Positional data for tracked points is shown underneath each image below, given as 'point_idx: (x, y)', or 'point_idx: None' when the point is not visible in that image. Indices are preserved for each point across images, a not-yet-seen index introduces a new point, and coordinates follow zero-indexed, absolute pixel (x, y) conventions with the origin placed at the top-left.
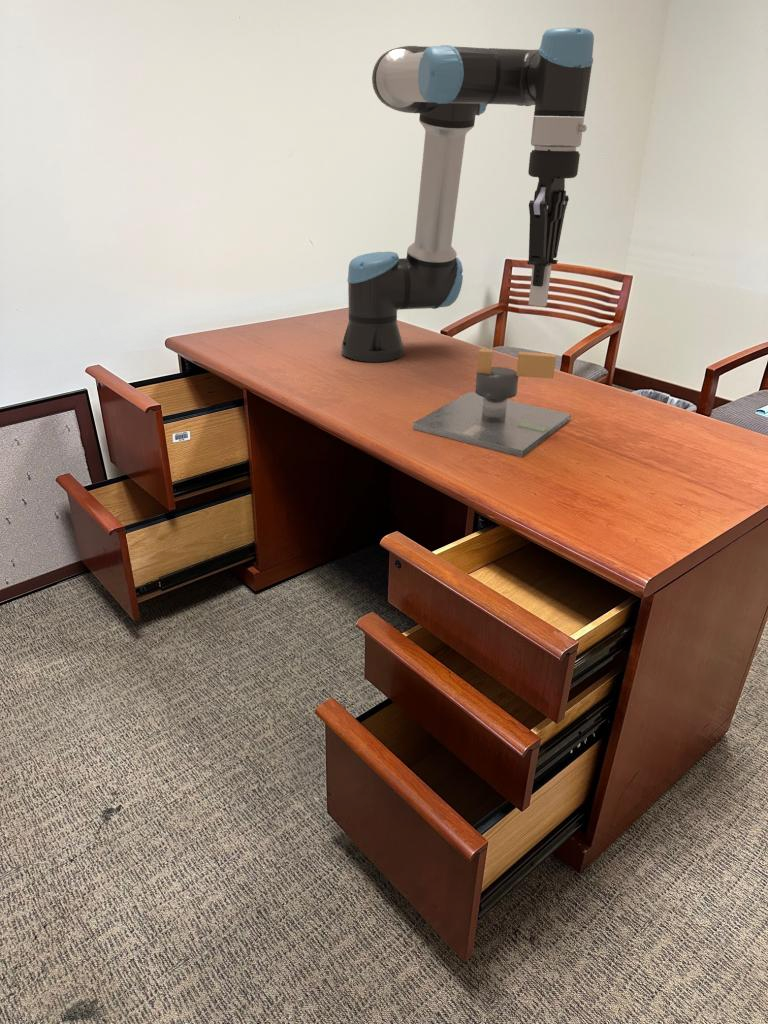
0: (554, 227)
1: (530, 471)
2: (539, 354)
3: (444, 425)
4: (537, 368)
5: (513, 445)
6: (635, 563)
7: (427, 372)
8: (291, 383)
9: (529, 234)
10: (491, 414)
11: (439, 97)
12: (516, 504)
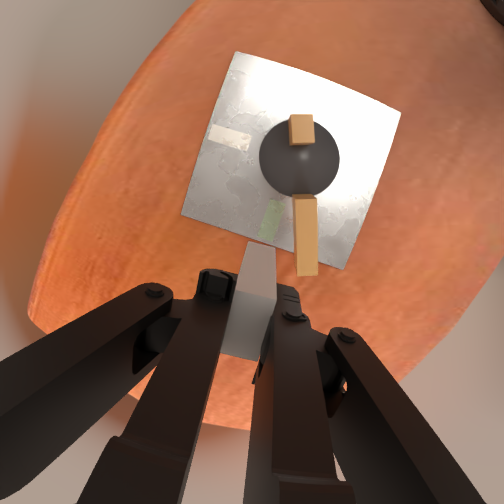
0: (247, 487)
1: (149, 227)
2: (306, 243)
3: (239, 93)
4: (294, 236)
5: (193, 200)
6: (39, 315)
7: (475, 56)
8: None
9: (42, 338)
10: None
11: None
12: (74, 222)
